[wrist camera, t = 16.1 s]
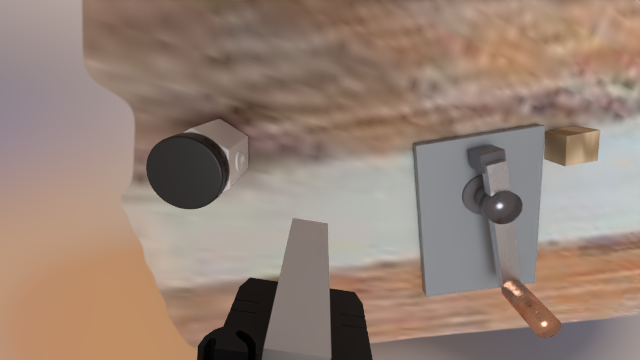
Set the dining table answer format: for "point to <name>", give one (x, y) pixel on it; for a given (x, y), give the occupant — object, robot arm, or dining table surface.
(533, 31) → the dining table surface
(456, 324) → the dining table surface
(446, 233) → the base
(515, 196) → the lever
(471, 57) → the dining table surface
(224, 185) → the jar
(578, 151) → the block
